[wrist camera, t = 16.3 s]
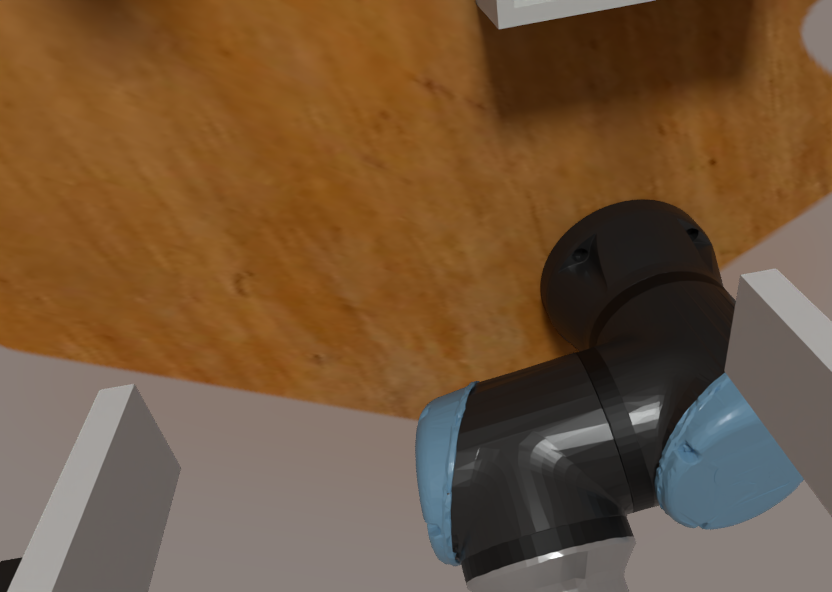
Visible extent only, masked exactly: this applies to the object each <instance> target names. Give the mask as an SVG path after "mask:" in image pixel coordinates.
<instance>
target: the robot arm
mask: <svg viewBox="0 0 832 592" xmlns="http://www.w3.org/2000/svg"><path fill="white" fill-rule="evenodd" d="M541 296H542V301H543V304H544V307H545V309H546V311H547V314H548V316H549V318H550V320H551V322H552V324H553V326H554V327H555V329H556V330H557V331H558V332H559V334H560V335H561V336H562V337H563V338H564V339H565V340H567V341H568V342H569V343H571V344H572V345H573V346H574V347H575V348H577V349H578V350H579V351H580V352H577V353H572V354H569V355H565V356H562V357H559V358H556V359H553V360H550V361H547V362H544V363H540V364H537V365H534V366H531V367H528V368H525V369H522V370H518V371H515V372H512V373H509V374H505V375H502V376H499V377H495V378H492V379H488V380H485V381H482V382H479V381H475V382H471V383H470V384H469V385H468V386H467V387H465V388H462V389H459V390H457V391H454V392H452V393H449V394H446V395H444V396H441V397H438V398H436V399H434V400H432V401H431V402H430V403H429V404H427V406H426V407H425V408H424V410H423V411H422V413H421V415H420V418H419V422H418V426H417V432H416V446H415V447H416V448H415V451H416V452H415V453H416V472H417V481H418V489H419V496H420V502H421V507H422V513H423V517H424V520H425V522H426V523H428V524H427V527H428V534H429V539H430V542H431V545H432V548H433V550H434V552H435V554H436V556H437V557H438V559H439V560H440V561H442V562H443V563H445V564H451V565H453V566H458V565H462V569H463V573H464V577H465V581H466V585H467V588H468V589H469V590H470V591H472V592H629V590H628V587H627V584H626V582H625V579H624V572H625V567H626V565H627V563H628V560H629V558H630V555H631V553H632V551H633V548H634V546H635V544H636V541H635V538H634V536H633V533H632V531H631V528H630V525H629V523H628V520H627V514H630V513H634V512H637V511H640V510H644V509H647V508H651V507H655V506H659V505H660V507H661V509H663V510H664V511H665V513H666V514H667V515H669V516H670V517H671V518H672V519H673V520H675V521H676V522H678V523H679V524H682V525H684V526H686V527H690V528H696V527H697V526H700V527H701V528H702V529H718V528H724V527H729V526H733V525H736V524H739V523H742V522H744V521H747V520H749V519H752V518H754V517H756V516H758V515H760V514H762V513H764V512H765V511H767V510H769V509H770V508H772V507H773V506H775V505H776V504H778V503H779V502H781V501H782V500H783V499H785V498H786V497H787V496H788V495H789V494H791V493H792V492H793V491H794V490H795V489H796V488H797V487H798V486H799V484H800V483H801V482H802V481H803V480H805V481H806V483H807V484H808V485H809V487H810V488H811V489H812V491H813V492H814V493H815V495H816V496H817V498H818V499H819V500H820V502H821V503H822V504H823V506H824V507H825V508H826V510H827V511H828V512H829V514H830V515H831V517H832V322H831V321H830V320H829V319H828V318H827V317H826V316H825V315H824V314H823V313H822V312H821V311H820V310H819V309H818V308H817V307H816V306H815V305H814V304H813V303H812V302H810V301H809V299H807V298H806V297H805V296H804V295H803V294H802V293H801V292H800V291H799V290H798V289H797V288H796V287H795V286H794V285H793V284H792V283H791V282H789V280H788V279H787V278H786V277H784V276H783V275H782V274H781V273H780V272H779V271H778V270H777V269H770V270H765V271H759V272H754V273H749V274H743V275H740V279H739V286H738V292H737V298H736V301H735V299H734V298H733V297H732V296H731V295H730V294H729V293H728V292H727V291H726V290H725V288H724V287H723V284H722V280H721V276H720V272H719V268H718V264H717V260H716V256H715V252H714V249H713V246H712V244H711V242H710V240H709V238H708V236H707V235H706V234H705V232H704V231H703V230H702V229H701V228H700V226H699V225H698V224H697V223H696V222H695V221H694V220H693V219H692V218H691V217H690V216H689V215H688V214H686V213H685V212H684V211H682V210H681V209H679V208H677V207H675V206H673V205H670V204H668V203H664V202H660V201H655V200H631V201H624V202H620V203H616V204H613V205H610V206H607V207H604V208H602V209H599V210H597V211H595V212H593V213H592V214H590V215H588V216H586V217H585V218H583V219H582V220H580V221H579V222H578V223H576V224H575V225H574V226H573V227H572V228H570V229H569V230H568V231H567V232H566V233H565V234H564V235H563V236H562V237H561V239H560V240H559V241H558V242H557V244H556V245H555V247H554V248H553V250H552V251H551V253H550V255H549V257H548V259H547V261H546V263H545V266H544V269H543V273H542V278H541ZM180 469H181V467H180V465H179V463H178V461H177V459H176V458H175V456H174V454H173V452H172V451H171V449H170V447H169V445H168V443H167V441H166V440H165V438H164V436H163V434H162V432H161V431H160V429H159V427H158V425H157V423H156V422H155V420H154V418H153V416H152V414H151V413H150V411H149V409H148V407H147V406H146V404H145V402H144V400H143V398H142V396H141V395H140V393H139V391H138V389H137V387H136V386H135V384H131V385H125V386H119V387H114V388H109V389H103V390H99V393H98V395H97V397H96V399H95V401H94V404H93V405H92V408H91V410H90V412H89V414H88V416H87V419H86V421H85V423H84V425H83V427H82V429H81V432H80V434H79V436H78V438H77V441H76V443H75V445H74V447H73V449H72V451H71V453H70V456H69V458H68V460H67V462H66V464H65V467H64V469H63V471H62V473H61V475H60V477H59V480H58V482H57V484H56V486H55V488H54V491H53V493H52V495H51V497H50V500H49V502H48V504H47V506H46V508H45V510H44V512H43V515H42V517H41V519H40V521H39V523H38V526H37V528H36V530H35V532H34V534H33V536H32V538H31V541H30V543H29V545H28V547H27V549H26V552H25V554H24V556H23V557H22V558H17V559H11V560H5V561H1V562H0V592H148V590H149V586H150V582H151V578H152V575H153V571H154V567H155V563H156V560H157V556H158V552H159V548H160V545H161V541H162V537H163V533H164V529H165V526H166V522H167V518H168V514H169V511H170V507H171V503H172V500H173V496H174V492H175V488H176V485H177V481H178V477H179V474H180Z"/></svg>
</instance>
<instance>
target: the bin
mask: <svg viewBox="0 0 832 592" xmlns="http://www.w3.org/2000/svg"><path fill="white" fill-rule="evenodd" d="M649 1H654V0H476V4H477V5H478V6H479V8H480V9H481V10H482V11H483V12H484V13H485V14H486V16H487V17H488V18H489V19H490V20H491V21H492V22H493V23H494V25H495V26H496V27H497V28H498V29H503V28H509V27H514V26H520V25H525V24H530V23H536V22H541V21H547V20H552V19H557V18H563V17H568V16H574V15H579V14H584V13H590V12H595V11H601V10H606V9H611V8H617V7H622V6H627V5H633V4H638V3H644V2H649Z"/></svg>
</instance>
